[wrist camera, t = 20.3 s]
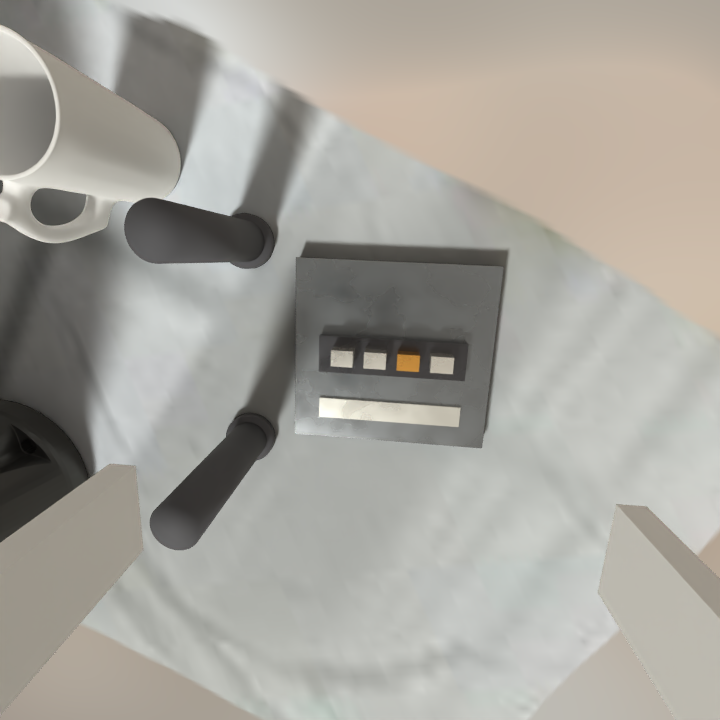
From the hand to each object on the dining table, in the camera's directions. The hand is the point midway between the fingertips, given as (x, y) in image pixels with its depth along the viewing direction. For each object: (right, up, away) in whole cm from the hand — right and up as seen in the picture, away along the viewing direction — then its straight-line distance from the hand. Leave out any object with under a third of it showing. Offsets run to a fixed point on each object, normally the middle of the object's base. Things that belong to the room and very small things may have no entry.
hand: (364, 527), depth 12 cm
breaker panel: (+2, +5, +22) cm, 22 cm away
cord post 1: (-9, +14, +21) cm, 26 cm away
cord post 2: (-9, -2, +25) cm, 26 cm away
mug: (-17, +18, +21) cm, 32 cm away
